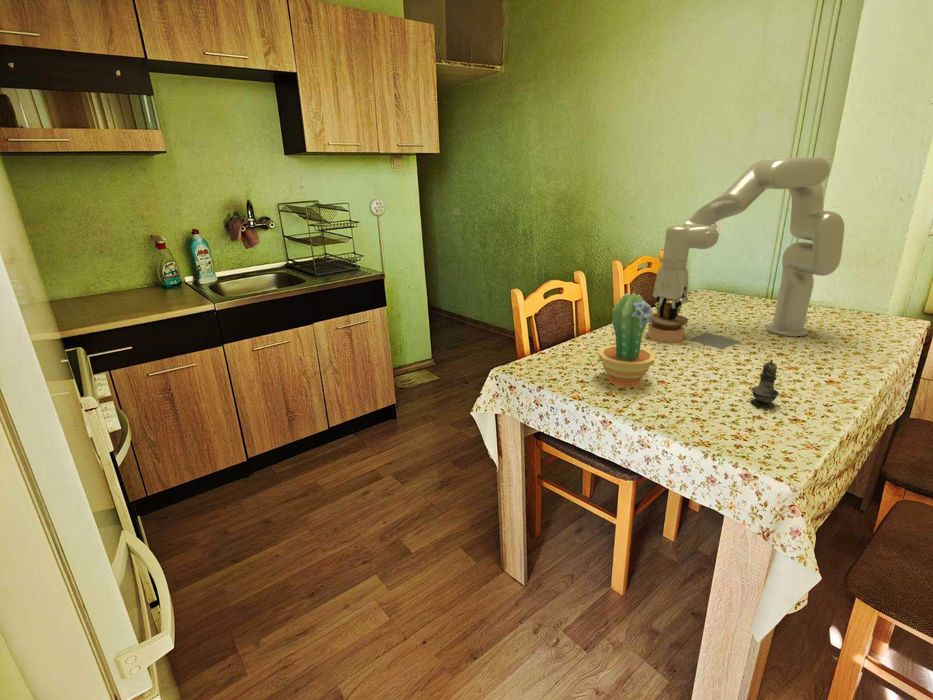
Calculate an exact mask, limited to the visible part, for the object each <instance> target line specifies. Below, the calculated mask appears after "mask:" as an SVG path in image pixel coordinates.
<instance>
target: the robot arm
mask: <svg viewBox="0 0 933 700" xmlns="http://www.w3.org/2000/svg"><path fill="white" fill-rule="evenodd" d="M830 171H831V166H830V163H829V161H828V160H827V159H825V158H823V157H820V156H809V157H805V156H804V157H802V156H800V157H799V156H798V157H790V158H789V157H788V158H786V159H785V158H784V159H764V160H758V161H756V162H755V163H752V165H750V167H749V168H748V169H746V170H745V172H743V174H742V175H741V176H740V177H739V178H737V179H736V181H734V183H733V184H732V185H730V187H728V189H727V190H725V192H724V193H722V194H721V195H720V196H718V197H716V198H714V199H713V200H711V201H710V202H708V203H706V204H704V205H703V206H702V207H700V208H699V209H697V210H695V212H694V213H693V214H692V215H691V216H690V217H688V219H687V220H686V221H685V222H684V223H683V224H682V225H680V224H679V225H677V224H676V225H670V226H668V227H667V228H666V231H665V239H664V247H663V253H662V254H663V256H662V258H660V260H659V263H661V266H660V267H659V268H658V270H657V274H656V277H655V281H654V287H653V293H652V296H653V297H654V298H655V299H656V300H657V302H659V305H660V312H659V313H660V315H659V317H663V311H664V304H665V303H667V302H668V300H671V302H672V308H670V311H669V319H670V320H672V319H675V318H676V316H677V310H678V307H680V306H681V305H682V306H683V305H684V304H687V303H689V298H688V288H689V270H688V269H687V265H688V258H689V252H690V249H698V250H708V249H711V248H712V247H714V246H715V245H716V244H717V243H718V240H719V238H720V237H719V235H720V234H719V232H718V230H717V229H716V228H715V227H713V226H712V225H713V224H715V223H717V222H719V221H721V220H724V219H726V218H730V217H733V216H736V215H739V214H741V213H743V212H745V211H746V210H747V209H748V208H749V207H750V206H751V205H752V204H753V202H755V201H756V200H757V199H758V198H759V197H760V196H761V195H762V194H763V193H764V192H766V190H767V189H768V190H769V189H771V190H788V192H789V193H790V197H791V212H790V223H789V225H790V226H789V231H790V235H792V237H794V238H797V239H800V240H806V241H812V242H805V241H799V242H793V243H792V244H790V245H789V246H787V247H786V249H785V250H784V251H783V253H782V263H781V265H782V270H781V271H782V272H781V280H780V286H779V289H778V296H777V300H776V305H775V309H774V315H773V320H772V323H771V324H768V325H766V328H765V329H766V331H768V332H770V333H772V334H775V335H779V336H784V337H793V336H794V337H797V336H800V337H805V335H806V336H807V335H808V334H809V330H808V329H807V328H805V324H806V323H808V319H807V314H808V311H809V307H810V306H809V305H810V302H811V298H812V292H813V290H814V283H815V282H814V275H816V276H822V277H823V276H828V275H831V274H832V273H834V272H835V271H836V270H837V269H838V267H839V265H840V263H841V259H842V253H843V245H844V237H845V222H844V219H843V217H842V216H841V214H839V213H837V212H834V211H830V210H824V189H823V186H822V183H823V182H825V180H826V179H827V178H828V176H829V174H830Z"/></svg>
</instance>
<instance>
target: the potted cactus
mask: <svg viewBox="0 0 933 700" xmlns="http://www.w3.org/2000/svg"><path fill="white" fill-rule="evenodd" d="M653 314H654V312H653V309H652V306H651V305H650V304H648V302H646V301H645V300H644V299H643V297H642V296H641V294H636V293H634V292H633V293H631V294H630V293H628V292H626V293H625V294H623V295H622V297H621V298H620V299H619V300H618V302H617V303H616V304H615V305H614V306H613V308H612V320H611V323H612V328H613V331H614V333H615V344H614V345H607V346H604V347H601V348H599V350H598V352H597V355H598V359H599V360H600V361H601V363H602V368H603V370H604V371H605V373H606V374H607V376H608V377H607V381H609V382H610V383H611V384H613V385H614V386H615V385H616V386H618V387H619V386H620V387H627V388H629V387H635V386H636V387H637V386H639V385H640V384H641V379H642V378H643V377H644V376H645V375H646V374H647V373H648V370H649V368H650V367H651V366H653V365H654V362H655V359H656V353H654V352H652V351H651V350H650V349H647V348H644V347H641V344H642V340H643V339H642V338H643V332H644V330H645V328H646V327H647V323H648V325H649V324H651V320H652V316H653Z"/></svg>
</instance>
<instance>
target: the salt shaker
mask: <svg viewBox="0 0 933 700" xmlns="http://www.w3.org/2000/svg"><path fill="white" fill-rule="evenodd" d="M773 361H774V360H773V359H770V360H769V362H766V363H764V364H763V368H762V371H761V374H760V375H759V378H760V380H759V383H758V386H756V385H755V386H753V387H752V388H751V391H752V396H753V399H750V404H751V405H752V406H754V407H756V408H760V409H764V410H766V409H768V410H769V409H774V408H775V405H776V404H775V403H774V401H775V400H776V399H777V398H778V397H777V396H779V395H780V393H779V391H778V390H777V389H775V388H774V386H775V381H776V380H777V377H776V374H777V369H778V366H777V364H776V363H774V362H773Z"/></svg>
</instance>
